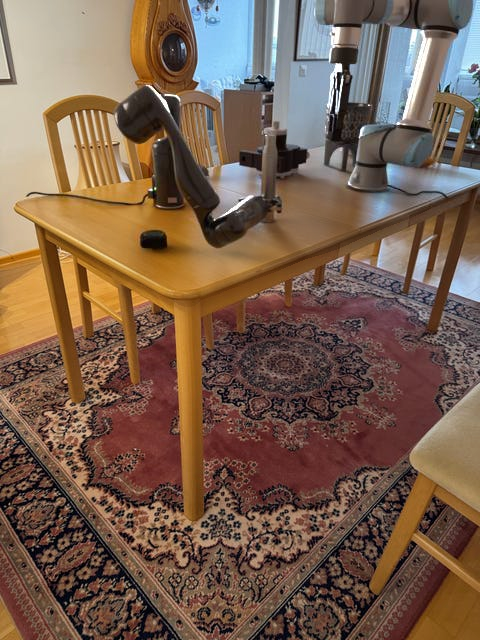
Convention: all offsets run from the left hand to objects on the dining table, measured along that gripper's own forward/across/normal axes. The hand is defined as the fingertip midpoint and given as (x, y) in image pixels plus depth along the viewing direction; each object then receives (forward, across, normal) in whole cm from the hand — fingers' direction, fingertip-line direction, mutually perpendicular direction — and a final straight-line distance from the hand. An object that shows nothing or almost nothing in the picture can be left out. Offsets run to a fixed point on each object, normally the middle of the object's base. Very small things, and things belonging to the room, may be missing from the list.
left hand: (270, 197), depth 139 cm
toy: (+108, -37, +6) cm, 114 cm away
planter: (+87, -4, +6) cm, 88 cm away
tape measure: (-38, +18, +6) cm, 42 cm away
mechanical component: (+61, +17, +6) cm, 64 cm away
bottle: (-3, 0, +6) cm, 7 cm away
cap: (+10, -15, -19) cm, 26 cm away
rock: (+34, +45, +6) cm, 57 cm away
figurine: (+121, 0, +6) cm, 122 cm away
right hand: (+10, -15, -17) cm, 25 cm away
